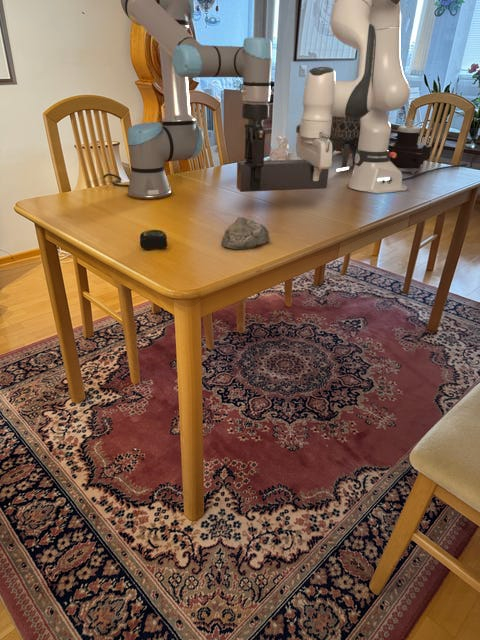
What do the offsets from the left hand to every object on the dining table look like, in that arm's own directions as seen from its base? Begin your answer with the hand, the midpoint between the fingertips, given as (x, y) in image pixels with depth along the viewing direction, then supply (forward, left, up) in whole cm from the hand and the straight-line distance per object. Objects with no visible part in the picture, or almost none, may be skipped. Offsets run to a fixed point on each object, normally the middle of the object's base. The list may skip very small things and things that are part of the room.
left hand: (252, 187), depth 137 cm
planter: (-8, +90, -9) cm, 90 cm away
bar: (+6, +7, -1) cm, 9 cm away
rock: (+12, -21, -9) cm, 26 cm away
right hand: (+13, +14, +2) cm, 19 cm away
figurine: (-34, +74, -9) cm, 82 cm away
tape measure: (-5, -38, -9) cm, 39 cm away
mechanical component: (+17, +105, -9) cm, 107 cm away
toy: (-21, +124, -9) cm, 126 cm away
